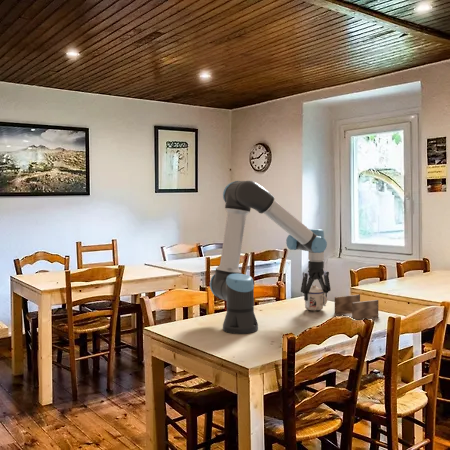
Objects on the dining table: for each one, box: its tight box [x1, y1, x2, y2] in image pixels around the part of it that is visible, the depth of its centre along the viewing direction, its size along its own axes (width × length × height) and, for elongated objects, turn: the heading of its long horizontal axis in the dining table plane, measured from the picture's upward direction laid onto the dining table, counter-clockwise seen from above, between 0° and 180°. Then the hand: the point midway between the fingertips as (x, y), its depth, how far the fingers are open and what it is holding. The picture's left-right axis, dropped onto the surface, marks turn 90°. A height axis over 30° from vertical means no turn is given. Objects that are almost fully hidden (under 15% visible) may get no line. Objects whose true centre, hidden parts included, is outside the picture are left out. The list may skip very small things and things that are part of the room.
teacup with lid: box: [304, 284, 328, 311], centre depth 264 cm, size 12×9×12 cm
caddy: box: [334, 294, 379, 320], centre depth 254 cm, size 14×15×8 cm
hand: (315, 306), depth 264 cm, fingers closed on teacup with lid, 8 cm apart
